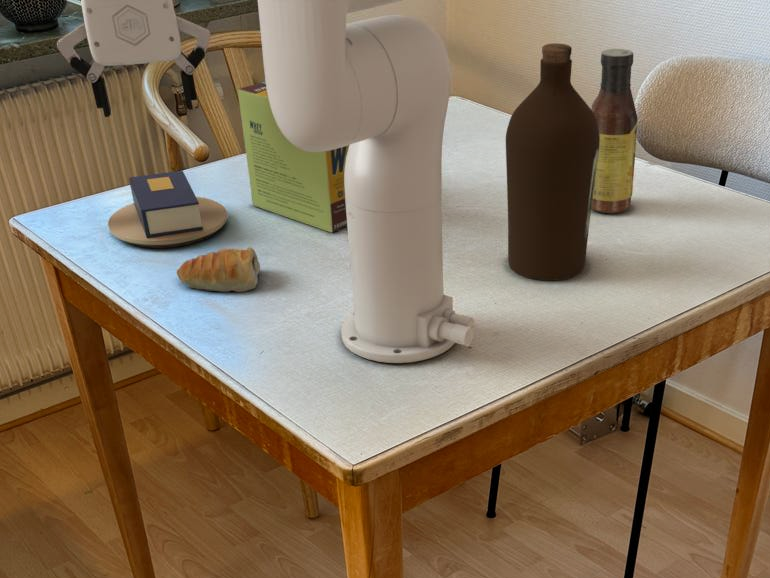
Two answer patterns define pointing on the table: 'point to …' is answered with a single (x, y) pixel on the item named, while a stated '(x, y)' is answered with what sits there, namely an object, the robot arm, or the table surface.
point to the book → (165, 212)
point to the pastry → (222, 270)
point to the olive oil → (551, 174)
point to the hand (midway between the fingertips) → (149, 110)
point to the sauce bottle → (615, 133)
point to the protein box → (290, 168)
